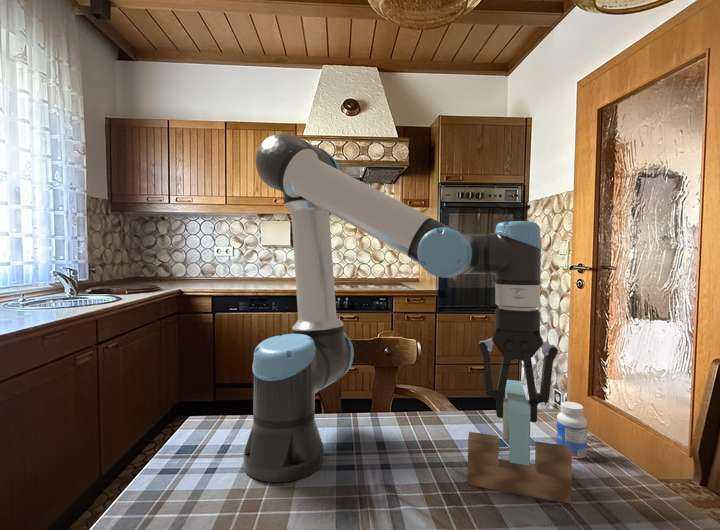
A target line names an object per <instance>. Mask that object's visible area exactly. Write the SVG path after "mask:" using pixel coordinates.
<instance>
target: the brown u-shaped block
mask: <svg viewBox="0 0 720 530" xmlns="http://www.w3.org/2000/svg"><path fill="white" fill-rule="evenodd" d="M499 437H500V436H499V435H495V434H489V433H488V434H487V433H481V432H473V431H468V438H467V485H468V486H474V487H477V488H483V489H488V490H494V491H500V492H504V493H509V494H516V495H520V496H526V497H532V498H537V499H541V500H547V501H552V502H557V503H564V504H569V505H572V473H573V472H572V468H573V467H572V465H573V461H572V460H573V458H572V454H571V451H570V449H569V447H568V446H565V445H558V444H557V443H551V442H545V441H544V442H542V441H537V440H535V449H534V450H535V458H534V460H535V461H534V462H535V463H530V465H524V464H517V463H511V462H510V461H509V459H506V458H505V459H503V458H500V457H499V450H500V449H499V446H500V440H499Z"/></svg>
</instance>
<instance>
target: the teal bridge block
mask: <svg viewBox="0 0 720 530" xmlns="http://www.w3.org/2000/svg"><path fill="white" fill-rule="evenodd" d="M504 397H505V398H507V400H508V439H506V440H507V442H509V443H508V444H509V445H508V446H509V447H508V448H509V449H508V451H509V452H508V458H509V459H508V460H509V461H510V462H511V463H517V464H524V465H530V464H531V422H530V411H529V408H528V404H527V400H528V399H527V398H526V393H525V389H524V386H523V382H522V380H513V379H507V383H506V388H505V395H504Z"/></svg>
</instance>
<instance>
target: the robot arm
mask: <svg viewBox="0 0 720 530" xmlns="http://www.w3.org/2000/svg"><path fill="white" fill-rule="evenodd" d="M255 169H256V171H257V173H258V176H259V178H260V179H261V181H262V182H263V183H265V184H266V186H268V187H270V188H272V189H273V190H276V191H280V192H281V193H282V194H283V195H282V198H283V207H284V208H285V209H286V210H287V211H288V212H289V213H290V215H291V228H292V243H293V245H292V246H293V257H294V258H293V259H294V273H295V288H296V302H297V303H296V305H297V319H298V320H297V321H296V322H295V323H294V325H293V326H292V327H291V330H292V331H291V332H292V333H286V334H282V335H275V336H271V337H268V338H266V339H264V340H262V341H261V342H260V343H258V345H257V346H255V349H254V352H253V360H252V361H253V362H252V367H251V368H252V369H251V370H252V405H253V406H252V411H253V413H252V414H253V418H252V419H253V420H252V421H253V422H252V426H251V429H250V432H249V435H248V439H247V442H246V444H245V447H244V451H243V469H244V471H245V473H246V474H247V475H249V476H250V477H251V478H253V479H255V480H257V481H262V482H266V483H267V482H268V483H286V482H287V483H288V482H292V481H293V482H294V481H296V480H299V479H303V478H306V477H307V476H310V475H312V474H313V473H315V472H316V471H317V470H318V469H319V468H320V467H321V466H322V464H323V462H324V459H325V458H324V457H325V456H324V450H325V449H324V443H323V441H322V437H321V435H320V431H319V428H318V425H317V422H316V416H315V414H316V413H315V412H316V411H315V409H316V408H315V407H316V403H315V399H316V396H315V395H316V394H317V393H319V392H320V391H322V390H323V389H325V388H326V387H328V386H330V385H332V384H333V383H336V382H338V381H340V380H341V378H343V376H344V375H346V374H347V373H348V371H349V370H350V368H351V366H352V365H353V363H354V362H353V361H354V356H355V355H354V354H355V353H354V346H353V342H352V340H351V338H350V337H348V336H347V334H346V333H345V325H344V322H343V321H342V320H341V319H340V318H338V315H337V308H336V307H337V306H336V292H335V290H336V289H335V288H336V287H335V277H334V274H335V273H334V261H333V247H332V235H331V233H332V232H331V218H330V214H332V215H333V216H336V217H337V218H339V219H340V220H342V221H344V222H346V223H347V224H349V225H351V226H353V227H355V228H357V229H358V230H360V231H362V232H364V233H365V234H366V235H368V236H370V237H372V238H374V239H376V240H378V241H379V242H381V243H383V244H385V245H387V246H389V247H390V248H392V249H394V250H395V251H396V252H399V253H400V254H403V255H404V256H406V257H408V258H410V259H411V260H413V262H416V263H418V264H419V265H420V266H421V267H422V268H423V270H424V271H425V272H427V273H428V274H430V275H432V276H435V277H438V278H443V279H449V278H453V277H457V276H459V275H495V282H494V283H495V288H494V289H495V291H494V292H495V299H494V300H495V302H494V303H495V305H497V306H498V307H496V308H495V310H494V320H495V321H494V331H493V333H492V336H491V338H487V339H486V340H484V339H481V340H479V343H478V348H479V349H480V352H481V355H482V358H483V370H484V382H485V383H484V384H485V392H486V396H487V397H491V398H493V399H494V400H495V403H496V404H495V411H496V413H495V414H496V418H498V419H502V439H505V440H507V439H508V400H507V398H505V395H506V383H507V380H508V377H509V370H510V366H511V361H513V360H520V361H522V363H523V368H524V369H523V370H524V375H525V382H526V387H527V393H528V394H527V395H528V399H526V400H527V404H528V408H529V411H530V423H531V422H532V423H537V420H538V406H539V404H541V403H549V401H550V395H551V384H552V378H553V377H552V374H553V365H554V360H555V359H556V357H557V355H558V353H559V349H558V348H557V347H556V346H555V345H554V344H549V343H547V342H545V341H544V339H543V338H542V335H541V311H540V310H539V309H537V308H539V307H540V306H541V271H542V269H541V268H542V265H541V263H542V239H541V227H540V225H539V224H538V223H536V222H535V221H528V220H516V221H515V220H514V221H513V220H512V221H502V222H499V223H497V224H496V225H495V230H494V232H493V233H492V232H491V233H479V234H476V233H474V234H472V233H471V234H469V233H466V234H465V233H463V232H461V231H458V230H456V228H452V227H451V226H448V225H446V224H444V223H443V222H441V221H439V220H437V219H434V218H432V217H431V216H429V215H427V214H425V213H423V212H421V211H419V210H417V209H415V208H414V207H412V206H409V205H408V204H405V203H404V202H402V201H400V200H397V198H396V199H395V198H393V197H392V196H390V195H388V194H386V193H384V192H383V191H381V190H379V189H376V188H375V187H373V186H371V185H369V184H366V183H365V182H363V181H361V180H359V179H357V178H355V177H353V176H351V175H350V174H348V173H345V172H343V171H342V170H341V168H340V165H339V163H338V162H337V160H336V159H335V158H334V157H333V155H331V154H329V152H328V151H326V150H325V149H323V148H320V147H318V146H315V145H313V144H311V143H309V142H307V141H305V139H304V140H303V139H302V138H301V137H298V136H296V135H293V134H291V133H284V132H283V133H275V134H273V135H270V136H268V137H266V138H265V139H264V140H263V141H262V142H261V144H260V145H259V147H258V148H257V151H256V154H255ZM494 345H495V347H496V348H497V349H498V351H499V353H500V354H501V355H502V358H501V366H500V369H499V376H498V382H497V388H494V385H493V384H494V383H493V374H492V371H493V370H492V362H491V352H492V351H493V346H494ZM540 348H541V353H542V355H543V361H542V368H541V369H542V370H541V371H542V372H541V380H540V388H539V392H538V393H537V388H536V382H535V377H534V370H533V363H532V358H533V357H534V356H535V354H536V353H537V352H538V351H540Z"/></svg>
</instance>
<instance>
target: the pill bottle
mask: <svg viewBox="0 0 720 530" xmlns="http://www.w3.org/2000/svg"><path fill="white" fill-rule="evenodd" d="M560 411H561V412H559V413H557V416H556V444H558V445H565V446H568V447H569V449H570V451H571V454H572V459H583V458H585V457H586V456H587V453H588V451H587V450H588V447H587V446H588V421H587V418H586V417H585V416H584V406H583V405H582V404H580V403H578V402H573V401H562V402H561V403H560Z"/></svg>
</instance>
